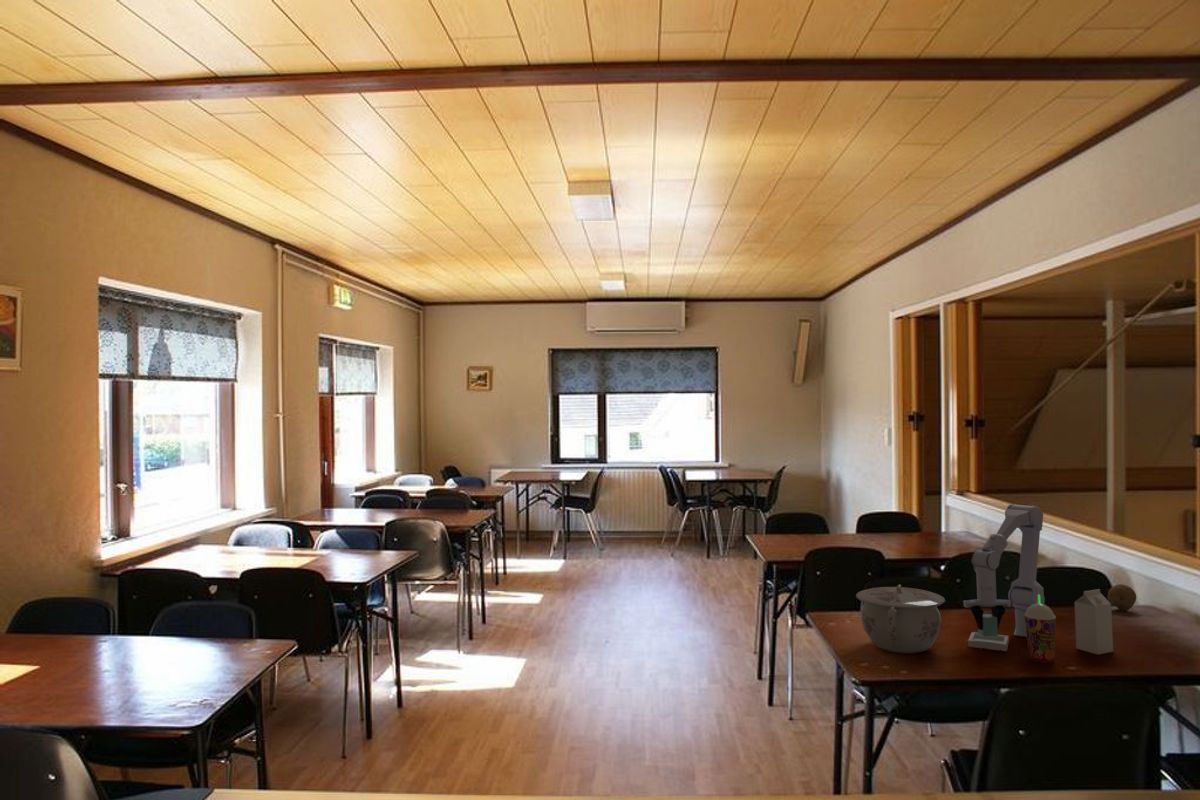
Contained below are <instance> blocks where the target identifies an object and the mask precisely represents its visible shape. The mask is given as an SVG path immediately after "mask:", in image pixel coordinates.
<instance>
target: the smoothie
mask: <svg viewBox="0 0 1200 800" xmlns="http://www.w3.org/2000/svg"><path fill="white" fill-rule="evenodd" d="M1024 615H1025V623H1026V632H1027V637H1026V639H1027V640H1026V641H1027V649H1028V655H1029V656H1030V659H1031V661H1033V662H1037V663H1040V664H1050V663H1053V661H1054V659H1055V658H1056V657H1055V656H1056V619H1057V616H1056V615H1055V614H1054V612H1053V610H1052V608H1051V607H1049V606H1048V605H1046V604H1045V603H1044V604H1041V602H1040V595H1038V603H1036V604H1033V605H1031V606H1030V607H1029V608H1028V609H1027V611H1026V613H1025V614H1024Z"/></svg>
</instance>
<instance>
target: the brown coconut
mask: <svg viewBox="0 0 1200 800" xmlns="http://www.w3.org/2000/svg"><path fill="white" fill-rule="evenodd" d="M1107 600H1108V601H1109V602H1110V603H1111V606H1114V607H1116V608H1117V609H1118V610H1120V611H1121V612H1127V611H1129V610H1130V609H1132V608H1133V606H1135V603H1136V601H1137V593H1136V592H1135V590H1134V589H1133V588H1132V587H1131V586H1128V585H1126V584H1115V585H1114V586H1111V588H1109V590H1108V592H1107Z"/></svg>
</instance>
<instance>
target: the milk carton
mask: <svg viewBox="0 0 1200 800" xmlns="http://www.w3.org/2000/svg"><path fill="white" fill-rule="evenodd" d="M1073 605H1074V621H1075V642H1076V643H1075V645H1076V646H1075V647H1076V649H1077V650H1080V651H1083V652H1087V653H1090V654H1094V655H1102V654H1103V655H1104V654H1107V653H1108V654H1109V653H1112V652H1114V643H1113V641H1114V637H1113V618H1112V617H1113V616H1112V604H1111V603H1110V602H1109V601H1108V598H1106V597H1105V595H1103V593H1101V589H1100V588H1098V589H1092V590H1084V591H1083V595H1082V596H1080V597H1078V599H1077V600H1075V601H1074V603H1073Z"/></svg>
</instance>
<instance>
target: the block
mask: <svg viewBox="0 0 1200 800" xmlns="http://www.w3.org/2000/svg"><path fill="white" fill-rule="evenodd" d="M977 633H979V634H981V635H983V636H998V635H999V629H998V624H997V617H995V616H993V615H992V613H990V614H989V613H985V614H984V613H983V630H980V629H978V628H977Z"/></svg>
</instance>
